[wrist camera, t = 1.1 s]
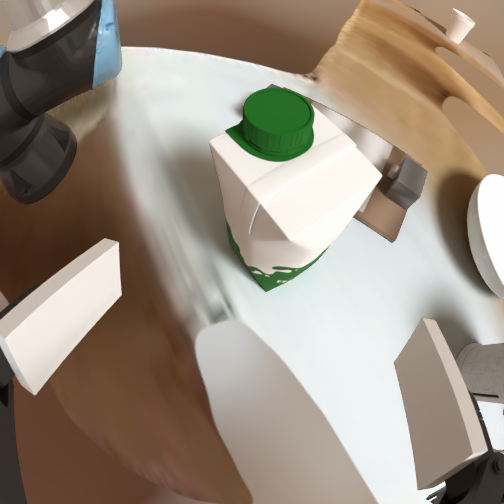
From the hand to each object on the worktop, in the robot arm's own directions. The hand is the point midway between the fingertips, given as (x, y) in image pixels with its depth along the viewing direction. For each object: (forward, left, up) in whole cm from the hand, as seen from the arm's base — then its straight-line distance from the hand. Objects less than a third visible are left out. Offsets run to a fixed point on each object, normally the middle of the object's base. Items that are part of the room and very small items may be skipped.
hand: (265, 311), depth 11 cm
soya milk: (-3, +9, -20) cm, 22 cm away
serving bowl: (+28, +30, -20) cm, 46 cm away
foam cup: (+12, +118, -20) cm, 120 cm away
